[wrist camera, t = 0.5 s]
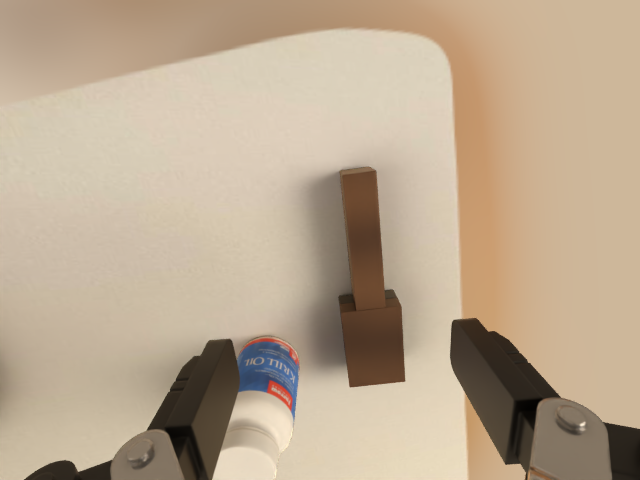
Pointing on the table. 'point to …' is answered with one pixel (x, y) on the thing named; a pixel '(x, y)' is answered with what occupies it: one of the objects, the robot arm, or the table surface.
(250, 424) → the pill bottle
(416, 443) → the table surface
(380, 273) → the brush
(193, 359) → the robot arm
